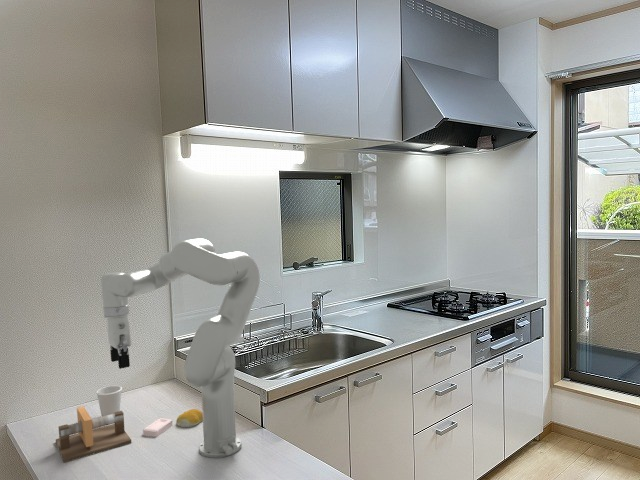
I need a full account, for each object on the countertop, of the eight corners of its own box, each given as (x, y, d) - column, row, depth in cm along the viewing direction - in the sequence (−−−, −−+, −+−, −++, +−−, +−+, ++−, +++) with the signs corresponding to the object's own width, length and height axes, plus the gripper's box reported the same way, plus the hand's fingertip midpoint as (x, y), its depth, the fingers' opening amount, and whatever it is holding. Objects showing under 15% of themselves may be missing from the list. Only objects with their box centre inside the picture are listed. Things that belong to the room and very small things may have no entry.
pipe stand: (131, 442, 155) (130, 419, 154) (63, 462, 144) (62, 437, 143) (118, 425, 168) (117, 403, 167) (55, 442, 157) (54, 418, 156)
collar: (93, 445, 150) (91, 419, 149) (86, 447, 149) (84, 421, 148) (85, 430, 160) (83, 406, 160) (78, 432, 159) (76, 407, 159)
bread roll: (207, 418, 172) (207, 407, 172) (193, 429, 163) (192, 417, 163) (187, 415, 175) (186, 404, 174) (172, 426, 166) (171, 414, 166)
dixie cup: (114, 423, 170) (112, 394, 169) (92, 421, 172) (90, 393, 171) (128, 413, 178) (126, 385, 177) (107, 411, 180) (105, 384, 179)
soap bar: (142, 436, 160) (142, 429, 160) (159, 424, 169) (159, 417, 168) (156, 438, 158) (156, 430, 158) (173, 425, 167) (172, 418, 167)
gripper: (136, 313, 153) (140, 367, 154) (121, 306, 167) (125, 356, 168) (110, 317, 149) (114, 373, 150) (97, 309, 163) (101, 360, 164)
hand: (120, 364), depth 159 cm, fingers open, 9 cm apart
